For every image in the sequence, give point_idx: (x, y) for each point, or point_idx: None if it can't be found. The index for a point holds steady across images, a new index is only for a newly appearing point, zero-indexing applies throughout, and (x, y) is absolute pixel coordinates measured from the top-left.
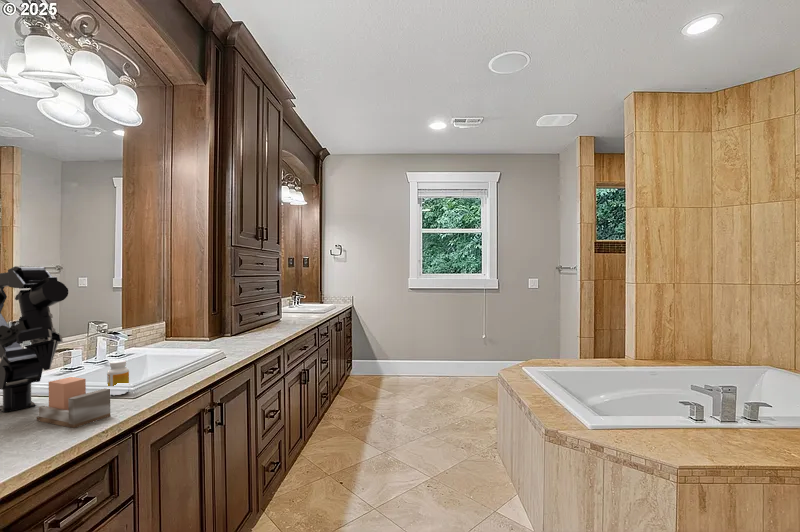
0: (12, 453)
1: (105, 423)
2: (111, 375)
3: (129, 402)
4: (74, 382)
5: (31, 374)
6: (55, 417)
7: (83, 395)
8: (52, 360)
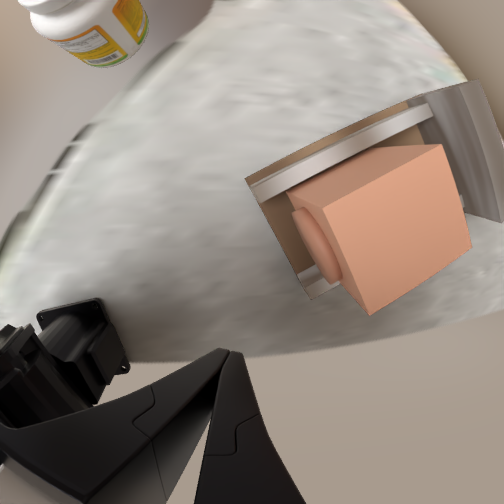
0: (499, 302)
1: None
2: (106, 17)
3: (287, 10)
4: (457, 199)
5: (62, 381)
6: None
7: (502, 175)
8: (182, 370)
